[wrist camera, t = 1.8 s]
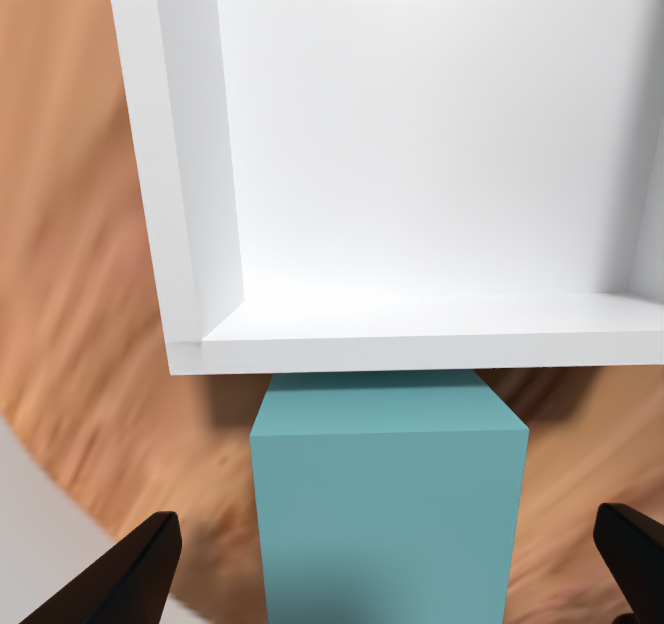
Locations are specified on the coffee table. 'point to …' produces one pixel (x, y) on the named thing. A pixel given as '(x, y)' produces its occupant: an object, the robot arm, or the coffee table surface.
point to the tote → (400, 181)
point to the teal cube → (386, 497)
